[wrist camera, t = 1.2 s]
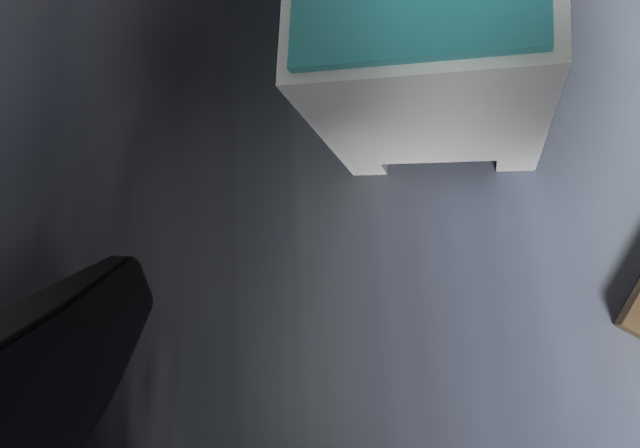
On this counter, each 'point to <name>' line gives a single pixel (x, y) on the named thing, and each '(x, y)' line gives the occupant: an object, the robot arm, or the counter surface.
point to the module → (426, 78)
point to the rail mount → (631, 313)
